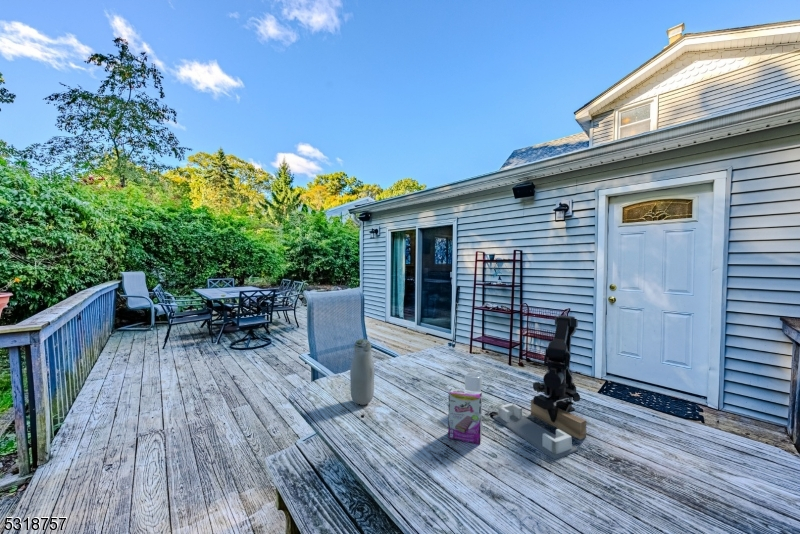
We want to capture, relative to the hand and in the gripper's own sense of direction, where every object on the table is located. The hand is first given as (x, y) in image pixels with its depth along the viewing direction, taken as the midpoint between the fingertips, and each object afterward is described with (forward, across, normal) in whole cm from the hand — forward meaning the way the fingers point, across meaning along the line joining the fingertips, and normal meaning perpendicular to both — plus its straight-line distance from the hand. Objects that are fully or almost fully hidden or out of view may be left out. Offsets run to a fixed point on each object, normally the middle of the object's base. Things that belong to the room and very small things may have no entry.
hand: (556, 420), depth 115 cm
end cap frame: (+2, +13, 0) cm, 13 cm away
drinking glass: (+2, +22, -22) cm, 31 cm away
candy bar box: (+2, +37, -7) cm, 38 cm away
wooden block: (+2, 0, 0) cm, 2 cm away
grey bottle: (+2, +62, -47) cm, 78 cm away
